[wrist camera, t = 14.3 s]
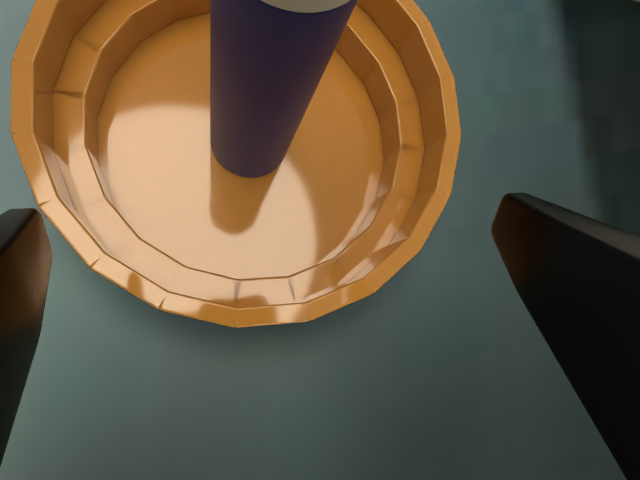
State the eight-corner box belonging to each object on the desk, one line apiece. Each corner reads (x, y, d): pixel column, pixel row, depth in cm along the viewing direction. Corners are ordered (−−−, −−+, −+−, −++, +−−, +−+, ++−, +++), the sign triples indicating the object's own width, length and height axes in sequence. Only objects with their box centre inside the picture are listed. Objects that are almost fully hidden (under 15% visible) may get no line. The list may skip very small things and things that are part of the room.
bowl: (428, 307, 20) (484, 306, 16) (56, 340, 17) (7, 348, 13) (393, -2, 22) (435, -73, 18) (55, -28, 19) (12, -123, 15)
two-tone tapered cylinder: (275, 190, 19) (411, -69, 6) (198, 164, 18) (171, -176, 6) (296, 119, 19) (458, -243, 7) (222, 93, 19) (247, -356, 6)
